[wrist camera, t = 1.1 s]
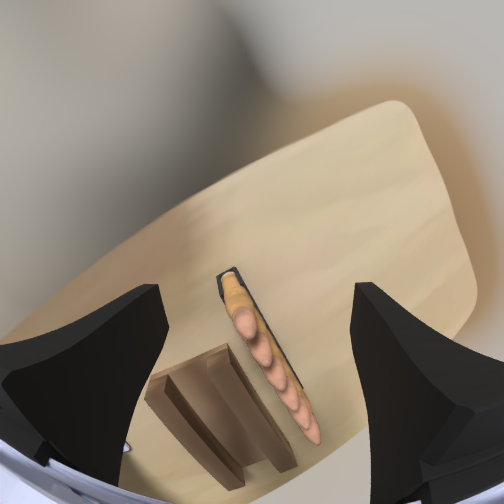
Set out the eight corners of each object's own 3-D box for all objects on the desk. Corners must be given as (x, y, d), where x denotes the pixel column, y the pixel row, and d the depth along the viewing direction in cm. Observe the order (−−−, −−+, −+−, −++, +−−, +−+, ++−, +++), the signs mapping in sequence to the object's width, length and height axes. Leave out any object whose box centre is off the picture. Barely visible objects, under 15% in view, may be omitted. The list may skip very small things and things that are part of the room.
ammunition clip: (215, 276, 25) (222, 331, 13) (234, 265, 25) (259, 311, 13) (272, 371, 27) (310, 458, 15) (289, 362, 27) (336, 444, 15)
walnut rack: (225, 467, 27) (228, 491, 23) (151, 375, 25) (144, 399, 21) (288, 442, 28) (297, 465, 24) (226, 342, 25) (230, 363, 22)
